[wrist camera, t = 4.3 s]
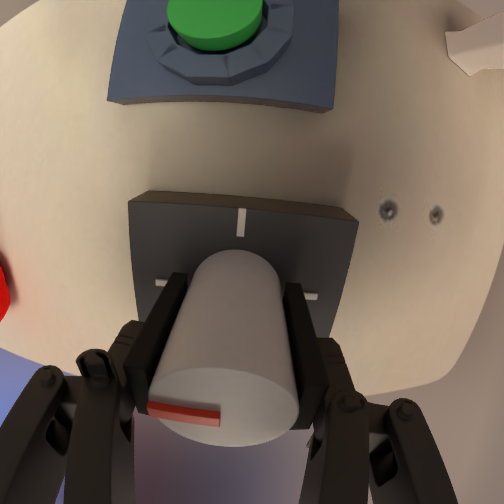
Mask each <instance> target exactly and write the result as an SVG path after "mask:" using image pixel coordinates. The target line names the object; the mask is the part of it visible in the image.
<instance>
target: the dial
mask: <svg viewBox="0 0 504 504" xmlns="http://www.w3.org/2000/svg"><path fill="white" fill-rule="evenodd" d="M148 400H149V401H148V404H147V410H148V413H149V416H152V417H157V418H158V419H159V420H160V421H161V422H162V423H163V424H164V425H166V426H167V427H168V428H170V429H171V430H173V431H175V432H176V433H178V434H180V435H182V436H184V437H187V438H189V439H192V440H195V441H198V442H202V443H206V444H211V445H217V446H229V447H239V446H250V445H256V444H260V443H264V442H267V441H270V440H272V439H275V438H277V437H279V436H280V435H282V434H284V433H285V432H287V431H288V430H289V429H290V428H291V427H292V426H293V425H294V423H295V422H296V420H297V418H298V415H299V401H298V394H297V387H296V380H295V373H294V367H293V360H292V354H291V347H290V341H289V334H288V328H287V322H286V316H285V310H284V304H283V298H282V292H281V286H280V281H279V278H278V275H277V273H276V271H275V270H274V268H273V267H272V266H271V265H270V264H269V263H268V262H267V261H266V260H265V259H263V258H262V257H260V256H259V255H257V254H254V253H252V252H249V251H245V250H234V249H233V250H225V251H220V252H218V253H215V254H213V255H211V256H209V257H208V258H206V259H205V260H204V261H203V262H202V263H201V264H200V265H199V267H198V268H197V270H196V271H195V274H194V276H193V278H192V281H191V283H190V285H189V288H188V290H187V293H186V295H185V297H184V300H183V302H182V305H181V307H180V310H179V312H178V314H177V317H176V319H175V322H174V324H173V327H172V330H171V332H170V335H169V337H168V340H167V342H166V345H165V347H164V350H163V353H162V355H161V358H160V361H159V363H158V366H157V369H156V371H155V374H154V377H153V379H152V382H151V385H150V388H149V391H148Z"/></svg>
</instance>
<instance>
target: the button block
mask: <svg viewBox="0 0 504 504" xmlns="http://www.w3.org/2000/svg"><path fill="white" fill-rule="evenodd" d="M168 2H169V0H127V2H126V5H125V9H124V12H123V16H122V20H121V24H120V28H119V32H118V36H117V41H116V46H115V51H114V56H113V62H112V67H111V74H110V81H109V88H108V96H107V101H110V102H114V103H119V104H123V105H126V104H137V103H151V102H176V101H207V102H232V103H247V104H259V105H268V106H277V107H285V108H292V109H299V110H306V111H312V112H317V113H325V112H327V111H329V110H332V109H333V105H334V93H335V80H336V65H337V47H338V15H339V0H263V5H262V19H261V23H260V26H259V28H258V30H257V31H256V32H255V34H254V35H253V36H252V37H251V38H249V39H248V40H247V41H245V42H244V43H242V44H240V45H238V46H236V47H233V48H230V49H226V50H220V51H206V50H201V49H197V48H194V47H192V46H190V45H188V44H187V43H186V42H184V41H183V40H182V39H181V37H180V36H179V35H178V33H177V32H176V31H175V30H174V28H173V27H172V26H171V24H170V23H169V20H168V18H167V5H168Z"/></svg>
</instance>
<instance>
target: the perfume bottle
mask: <svg viewBox="0 0 504 504" xmlns="http://www.w3.org/2000/svg"><path fill="white" fill-rule="evenodd" d="M445 36H446V42H447V50H448V56H449V58H450V59H451V60H452V61H453V62H454V63H455V64H457V65H458V66H459V67H460V68H461V69H462V70H463V71H464V72H465V73H466V74H468V75H469V76H472V75H473V74H475V73H477V72H478V71H480V70H481V69H504V11H503V12H501V13H498V14H496V15H494V16H492V17H489V18H487V19H485V20H483V21H481V22H479V23H476V24H474V25H472V26H470V27H468V28H466V29H464V30H462V31H451V32H445Z"/></svg>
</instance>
